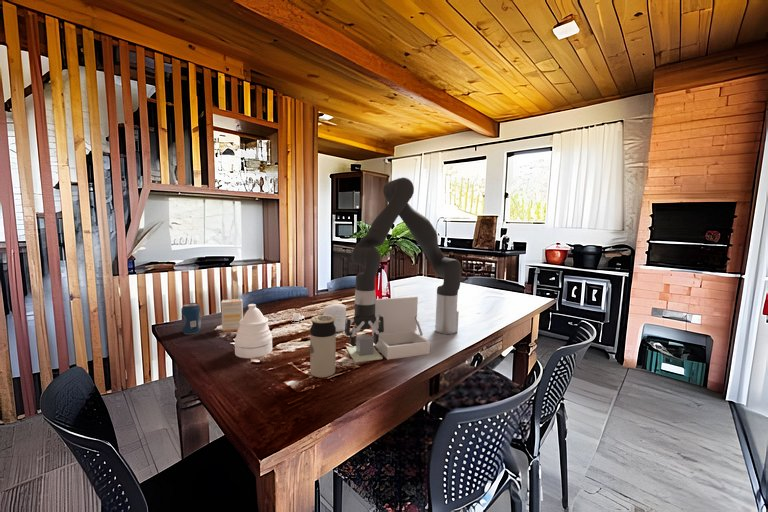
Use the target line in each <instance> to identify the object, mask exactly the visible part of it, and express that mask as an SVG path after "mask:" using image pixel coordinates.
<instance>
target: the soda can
mask: <svg viewBox="0 0 768 512" xmlns="http://www.w3.org/2000/svg"><path fill="white" fill-rule="evenodd" d="M201 329H202V317H201V306H200V305H199V303H198V302H189V303H187V302H186V303H184V304H183V305H182V307H181V331H182V332H183V334H184V335H194V334H198V333H199V332H200V331H201Z"/></svg>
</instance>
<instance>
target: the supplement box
mask: <svg viewBox="0 0 768 512" xmlns="http://www.w3.org/2000/svg"><path fill="white" fill-rule="evenodd" d="M220 304H221V305H220V307H221V309H220V310H221V327H222V328H221V329H222V332H231V331H233V332H234V331H238V329H239V327H240V324H239V321H240V320H241V319H243V317H244V312H243V311H244V308H243V305H244V304H243V298H232V299H222V300H221V302H220Z"/></svg>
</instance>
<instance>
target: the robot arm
mask: <svg viewBox="0 0 768 512" xmlns="http://www.w3.org/2000/svg"><path fill="white" fill-rule="evenodd" d="M382 190H383V191H382V192H383V195H384V198H385V200H386V201H387V202H388V203H387V205H386V206H385V207H384V209H382V210H381V212H379V214H378V215H377V216H376V217H375V219H374V220H373V222H372V223H371V225H370V227H369V229H368V231H367V232H366V234H365V235H364V236H363V237H362V239H360V241H359V242H358V243H357V244H355V247H354V248H353V249H352V252H351V260H352V263H353V264H354V265H356V266H359V267H365V268H364V271H363V272H358V273H357V274H356V276H355V291H354V292H355V293H354V315H353V316H354V317H353V318H349V317H346V322H345V330H344V334H345V335H346V336H347V337H349V344H350V345H351V346H352V347H351V348H353V347H356V335H357V333H358V332H360V330H361V331H363V330H370V329H371V330H372V329H373V331H374V332H375V333H374V335H373V345H375V344H377V342H378V341H379V333H381V332H384V319H383V317H382V316H381V315H379V316H376V317H375V302H376V299H377V297H376V278H377V277H376V276H377V274H378V270H379V266H380V263H381V252H380V251H379V250H378V249H377V248H378V247H381V246H382V245H383V244H384V243H385V241H386V239H387V237H388V234H389V233H390V230H391V229H392V228H393V225H394V224H395V222H396V220H397V218H398V217H399V218H400V219H401V220H402V221H403V223H404V224H405V226H406V228H407V230H409V232H410V233H411V235H412V237H413V238H414V240H415V241H416V243H417V244H418V246H419V247H420V248H421V250H422V252H423V253H424V254H425V256H426V258H427V260H428V261H429V263H430V265H431V267H432V269H433V271H434V273H435V275H437V276H438V277H440V278H441V279H443V283H442V284H441V285H438V286H437V288H436V304H435V305H436V307H435V329H434V330H435V332H437V333H438V334H443V335H453V334H455V333H458V332H459V310H458V293H459V289H460V286H461V281H462V280H461V277H462V264H461V262H460V260H458V259H455V258H450V257H447V256H446V255H445V254H444V253H443V252H442V250H441V248H440V246H439V239H438V233H437V231H436V229H435V227H434V226H433V224H432V223H431V221H430V220H429V218H427V217H426V216H424V215H423V214H422V213H420V212H419V211H417V210H416V209H414V208H413V207H412V206H411V205H410V204H409V202H410V201H411V198H412V197H413V196H414V192H415V188H414V183H413V182H412V181H411V179H409V178H408V177H403V176H402V177H398V178H396V179H393V180H390V181H388V182H386V183H385V184H384V185H383V189H382ZM376 320H377V321H378V325H379V328H378V329H377V328H376V327H375V326H374V325H373V324H374V323H375V321H376ZM353 323H354V325H353V327H352V328H351V325H352V324H353Z"/></svg>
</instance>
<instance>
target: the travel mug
mask: <svg viewBox="0 0 768 512" xmlns="http://www.w3.org/2000/svg"><path fill="white" fill-rule="evenodd" d="M310 320H311V323H312V324H311V326H310V329H309V333H310V334H309V339H310V340H309V342H310V343H309V345H310V348H309V349H310V350H309V351H310V352H309V353H310V354H309V355H310V356H309V357H310V359H309V361H310V362H309V363H310V364H309V367H310V368H309V373H310V375H312V376H313V377H316V378H327V377H328V378H329V377H331V376H332V375H334V374H335V373H336V357H337V355H336V354H337V353H336V352H337V351H336V348H337V347H336V345H337V342H336V341H337V340H336V338H337V337H336V336H337V335H336V334H337V332H336V327H335V325H334V320H335V317H333V316H330V315H323V314H318V315H315V316H312V317H311V319H310Z"/></svg>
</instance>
